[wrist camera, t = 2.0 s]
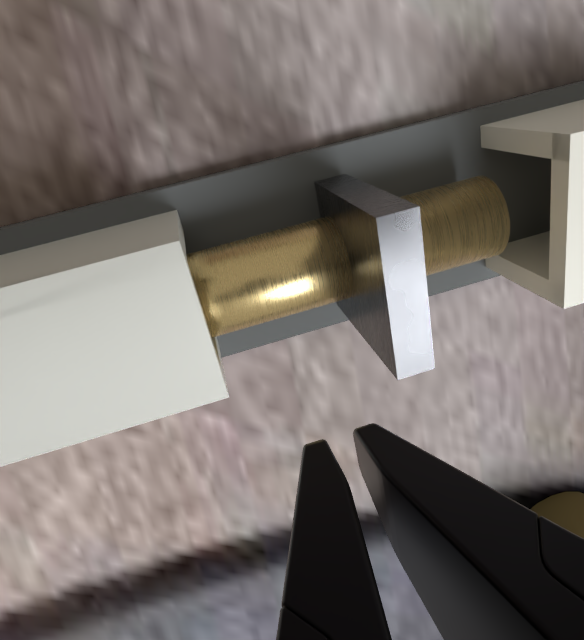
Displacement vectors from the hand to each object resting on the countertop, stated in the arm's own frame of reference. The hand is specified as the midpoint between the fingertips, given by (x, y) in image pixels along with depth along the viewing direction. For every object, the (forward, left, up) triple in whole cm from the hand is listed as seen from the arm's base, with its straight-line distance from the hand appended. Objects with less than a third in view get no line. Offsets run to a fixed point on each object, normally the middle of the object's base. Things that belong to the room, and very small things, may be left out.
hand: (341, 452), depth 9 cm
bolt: (0, 0, -11) cm, 11 cm away
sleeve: (-5, -3, -11) cm, 13 cm away
